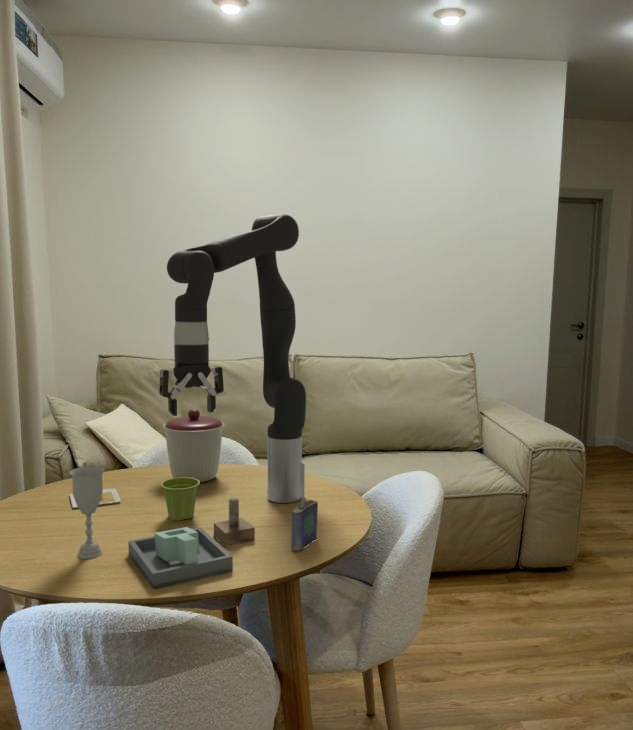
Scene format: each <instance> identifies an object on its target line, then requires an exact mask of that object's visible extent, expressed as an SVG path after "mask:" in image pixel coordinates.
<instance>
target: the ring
mask: <svg viewBox="0 0 633 730" xmlns="http://www.w3.org/2000/svg"><path fill="white" fill-rule="evenodd" d="M192 529H193V528H190V527H188V526H185V527H180V528H174V529H169V530H164V531H159V532H154V536H155V546H156V555H157V556H159V557H160V558H162V559H163V560H165V561H170V560H175V559H178V560H180V561H181V562H183V563H185V564H191V563H195V562H198V554H200V552H199V538H198V532H197V531H195V530H192Z"/></svg>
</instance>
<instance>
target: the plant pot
mask: <svg viewBox="0 0 633 730" xmlns="http://www.w3.org/2000/svg"><path fill="white" fill-rule="evenodd" d="M200 484H201V483H200V481H199V480H198V479H195V478H189V477H179V478H169V479H166V480H165V479H164V480H163V481H162V482H161V483H160V487H161V488H162V493H164V499H165V502H166V510H167V515H168V518H169V519H171V520H172V521H179V522H180V521H183V520H185V519H187V520H189V519H191V518H193V517H194V516H195V515H194V514H195V506H196V500H197V498H196V497H197V492H198V490H199V486H200Z"/></svg>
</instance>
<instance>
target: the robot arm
mask: <svg viewBox="0 0 633 730" xmlns="http://www.w3.org/2000/svg"><path fill="white" fill-rule="evenodd" d="M299 236H300V229H299V224H298V222H297V221H296V219H295V218H293V216H291V215H289V214H286V213H285V214H284V213H283V214H282V213H278V214H270V215H262V216H259V217H257V218H255V220H254V221H253V223H252V227H251V230H250V231H246V232H242V233H236V234H232V235H228V236H224V237H222V238H219V239H217V240H214V241H211V242H209V243H206V244H204V245H200V246H195V247H191V248H187V249H182V250H179V251H177V252H175V253H173V254H172V255H171V256H170V258H169V259H168V260H167V263H166V271H167V274H168V276H169V278H170V279H171V280H172V281H173V282H176V283H178V284H187V286H186V290H185V293H183V294H180V295H178V296H177V297H175V300H174V320H175V322H174V330H173V332H174V333H173V340H174V341H173V343H174V345H173V349H174V351H173V352H174V354H173V355H174V367H173V369H166V368H161V369H160V371H159V390H158V391H159V392H158V394H159V395H160V397H164V398H167V400H168V401H167V403H168V413H170V415H171V416H172V417H177V416H178V399H176V398H177V397H178V395H179V394H180V393H181V392H182V391H183V389H184V388H185V389H190V388H193V387H195V388H201V387H202V388H203V389H204V391H205V392H206V393H207V394H208V395H207V394H206V406H207V407H206V411H207V412H208V413H213V412H214V410H216V407H217V406H216V405H217V404H216V401H217V398H216V397H217V395H219V394H220V393H221V394H222V393H223V392H224V390H225V388H224V387H225V386H224V375H223V374H224V373H223V367H221V366H218V365H214V366H213V367H210V359H209V357H210V356H209V355H210V349H209V348H210V347H209V346H210V344H209V343H210V337H209V328H208V301H209V297H210V294H211V289H212V286H213V281H214V278H215V277H214V276H215V273H216V274H217V273H222V272H224V271H226V270H229V269H232V268H233V267H236V266H239V265H240V264H242V263H245V262H248V261H249V260H253V259H254V262H255V267H256V275H257V284H258V285H257V286H258V296H259V297H258V298H259V315H260V316H259V317H260V328H261V339H262V352H263V353H262V355H263V375H262V377H263V379H262V395H263V399H264V401H265V403H266V404H267V405H268V407H271V408H272V409H274V413H273V414H274V415H273V422H272V423H270V424H269V425H268V426H267V492H266V493H267V499H268V500H269V502H273V503H277V504H291V503H295V502H298V501H300V500H301V499H303V498H304V497H305V488H306V487H305V484H306V483H305V482H306V481H305V478H306V477H305V476H306V475H305V472H306V471H305V470H306V469H305V467H306V466H305V463H304V462H303V460H302V459H303V457H302V455H303V451H302V450H303V444H302V443H303V439H302V438H303V436H302V435H303V429H304V427H305V424H306V408H307V394H306V393H307V392H306V388H305V386H304V384H303V383H302V382H301V381H300V380H299V379H297V378H294V377H291V373H290V366H289V364H290V362H289V355H290V349H291V346H292V343H293V340H294V335H295V333H296V332H295V331H296V327H297V324H296V323H297V322H296V321H297V319H296V306H295V305H296V304H295V299H294V298H293V294H292V293H291V292H290V290H289V288H288V286H287V285H286V282H285V281H284V280H283V278H282V276H281V274H280V272H279V271H280V270H279V269H278V261H277V252H284V251H287V250H291V249H293V247H294V246H296V245H297V242H298V240H299ZM210 374H211V375H212V376H213V380H214V382H213V383H214V387H213V386H212V384H211V382H210V381H209V380H208V379H207V378H208V377H209V376H210ZM172 376H174V378H175V381H174V383H173V384H172V386H171V388H170V390H169V380H171V379H172ZM300 497H303V498H301V499H300ZM299 499H300V500H299Z"/></svg>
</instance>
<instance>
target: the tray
mask: <svg viewBox="0 0 633 730" xmlns="http://www.w3.org/2000/svg"><path fill="white" fill-rule="evenodd" d="M191 529H192V530H195V531H197V532H198V538H199V552H200V554H198V562H195V563H191V564H185V563H183V562H181V561H180V560H178V559H175V560H170V561H165V560H163V559H162V558H160V557H159V556H157V555H156V546H155V535H153V536H147V537H143V538H138V539H132V540H131V539H130V540H127V541H128V545H127V546H128V556H129V557H130V558H131V560H132V561H133V563H134V564H135V566H136V567H137V568H138V570H139V571H140V572H141V573H140V574H142V575H143V577H144V578H145V580H146V581H147V583H148V584H149V586H151V588H152V590H157V589H161V588H165V587H170V586H174V585H178V583H179V584H182V583H186V582H190V580H191V581H195V579H196V580H199V579H203V578H208V577H212V576H216V575H221V574H226V573H230V572H233V569H234V567H233V565H234V563H233V561H234V559H233V558H234V556H233V555H232V554H231V553H230V552H228V550H226V549H225V548H224V547H223V546H222V545H221V544H220V543H218V542H217V541H216V539H214V538H213V537H212V536H211V535H210V534H209V533H207V531H206V530H205V529H204V528H202V527H200V526H199V527H194V528H191Z"/></svg>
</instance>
